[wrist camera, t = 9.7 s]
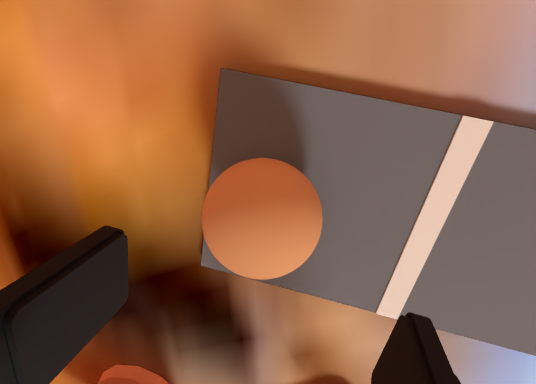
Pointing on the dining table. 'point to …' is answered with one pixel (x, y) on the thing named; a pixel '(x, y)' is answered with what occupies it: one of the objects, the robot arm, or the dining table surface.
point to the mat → (398, 203)
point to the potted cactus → (130, 376)
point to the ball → (262, 218)
